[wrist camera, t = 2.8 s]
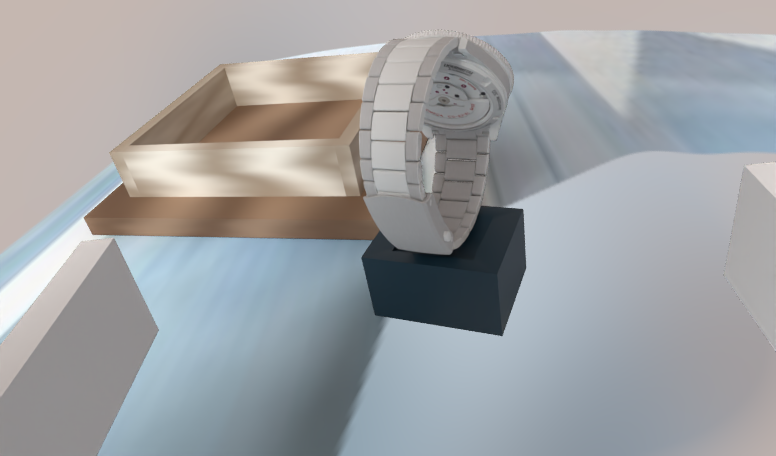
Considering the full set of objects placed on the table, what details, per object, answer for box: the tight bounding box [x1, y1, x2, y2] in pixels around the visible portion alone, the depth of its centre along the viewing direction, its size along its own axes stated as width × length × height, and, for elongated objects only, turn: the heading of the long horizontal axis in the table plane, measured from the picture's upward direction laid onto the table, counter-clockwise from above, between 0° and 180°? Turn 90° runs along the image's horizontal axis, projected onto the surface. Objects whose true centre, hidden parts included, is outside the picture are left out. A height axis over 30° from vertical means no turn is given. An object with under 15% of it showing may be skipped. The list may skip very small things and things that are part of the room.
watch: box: [359, 30, 526, 336], centre depth 24 cm, size 6×8×11 cm
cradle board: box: [84, 52, 428, 240], centre depth 39 cm, size 18×18×4 cm
